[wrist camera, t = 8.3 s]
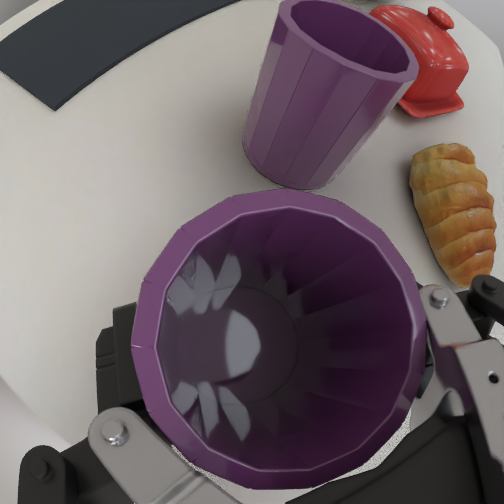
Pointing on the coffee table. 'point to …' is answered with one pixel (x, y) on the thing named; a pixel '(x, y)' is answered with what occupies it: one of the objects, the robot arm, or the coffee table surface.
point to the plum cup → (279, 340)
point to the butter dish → (428, 59)
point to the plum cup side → (322, 90)
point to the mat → (89, 41)
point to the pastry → (454, 210)
